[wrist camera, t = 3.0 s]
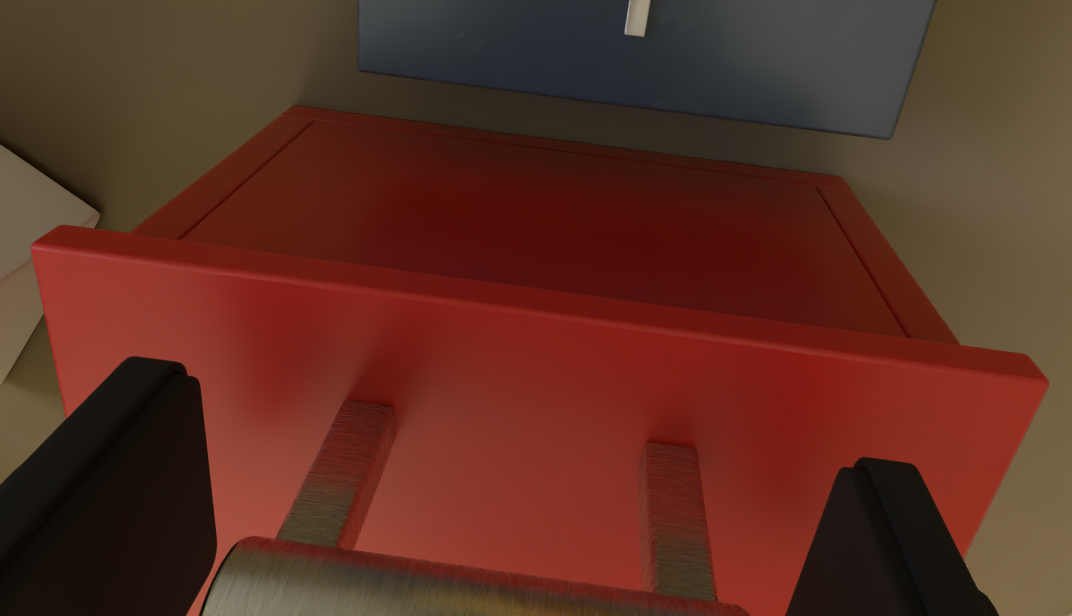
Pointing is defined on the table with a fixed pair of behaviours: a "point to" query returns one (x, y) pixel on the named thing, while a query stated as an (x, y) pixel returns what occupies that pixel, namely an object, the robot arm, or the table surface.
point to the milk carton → (27, 246)
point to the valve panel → (667, 54)
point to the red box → (556, 220)
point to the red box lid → (515, 431)
